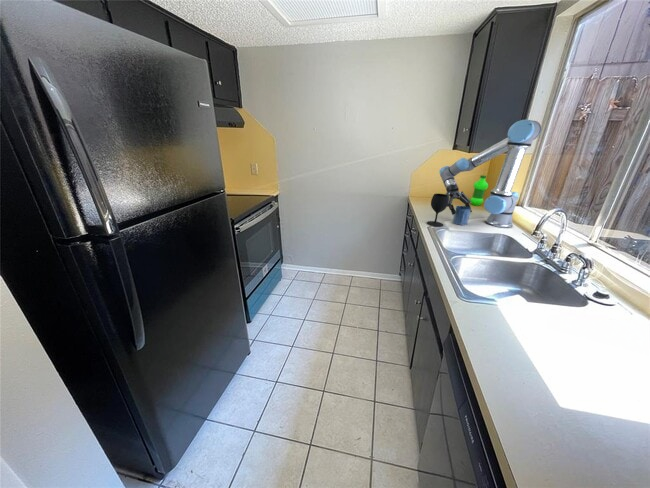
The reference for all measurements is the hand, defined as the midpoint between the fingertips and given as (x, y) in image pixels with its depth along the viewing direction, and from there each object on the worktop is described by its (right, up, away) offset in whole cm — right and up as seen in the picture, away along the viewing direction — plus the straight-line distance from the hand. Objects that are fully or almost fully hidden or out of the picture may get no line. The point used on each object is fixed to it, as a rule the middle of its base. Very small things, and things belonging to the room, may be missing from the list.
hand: (462, 213), depth 175 cm
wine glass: (-19, -8, -1) cm, 21 cm away
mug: (-1, -7, +2) cm, 7 cm away
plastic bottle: (+38, +13, +50) cm, 64 cm away
